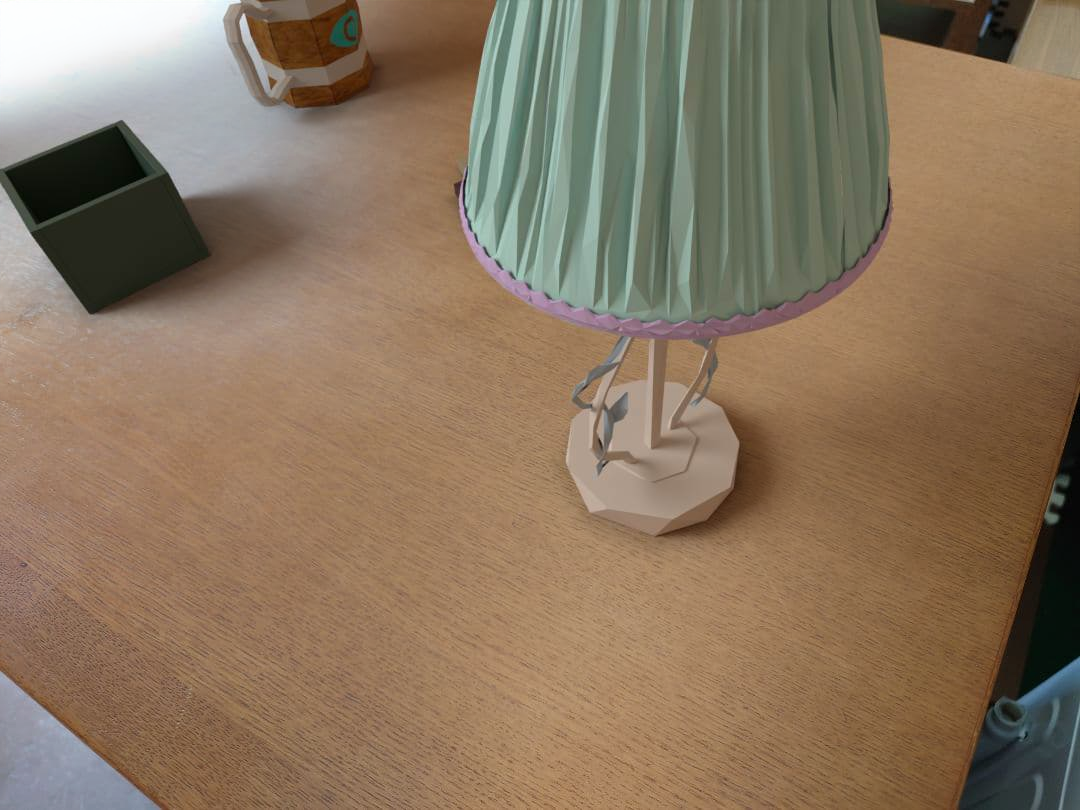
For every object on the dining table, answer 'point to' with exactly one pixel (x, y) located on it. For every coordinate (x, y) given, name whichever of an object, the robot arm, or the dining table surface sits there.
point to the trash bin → (104, 214)
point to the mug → (301, 50)
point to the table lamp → (674, 204)
